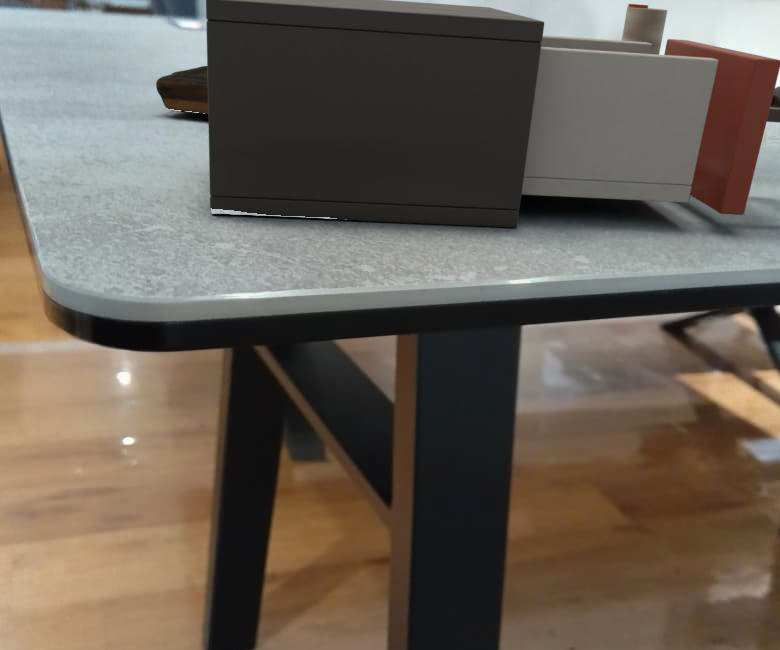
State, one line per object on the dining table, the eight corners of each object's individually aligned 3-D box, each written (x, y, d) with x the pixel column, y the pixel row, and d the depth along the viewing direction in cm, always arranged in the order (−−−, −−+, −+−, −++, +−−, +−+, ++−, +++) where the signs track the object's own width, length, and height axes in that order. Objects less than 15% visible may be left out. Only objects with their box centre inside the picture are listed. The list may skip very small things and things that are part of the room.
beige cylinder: (649, 64, 94) (660, 5, 92) (662, 68, 91) (673, 7, 88) (613, 62, 94) (622, 2, 91) (624, 66, 90) (634, 4, 88)
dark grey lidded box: (472, 172, 50) (490, 7, 46) (517, 228, 40) (545, 21, 36) (229, 160, 49) (227, -12, 45) (210, 214, 38) (205, -3, 34)
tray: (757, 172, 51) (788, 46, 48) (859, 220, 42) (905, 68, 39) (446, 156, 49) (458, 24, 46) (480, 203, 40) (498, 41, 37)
